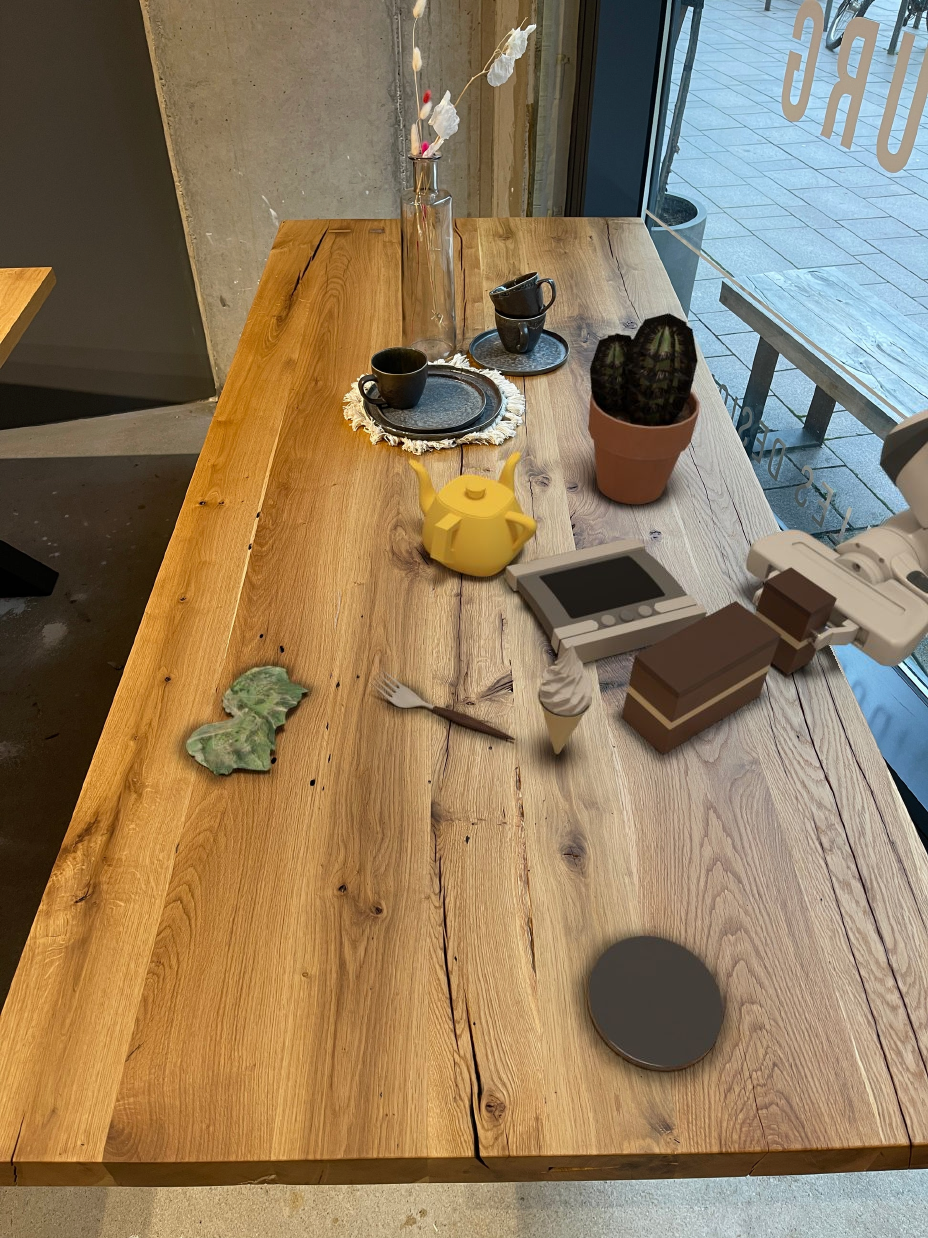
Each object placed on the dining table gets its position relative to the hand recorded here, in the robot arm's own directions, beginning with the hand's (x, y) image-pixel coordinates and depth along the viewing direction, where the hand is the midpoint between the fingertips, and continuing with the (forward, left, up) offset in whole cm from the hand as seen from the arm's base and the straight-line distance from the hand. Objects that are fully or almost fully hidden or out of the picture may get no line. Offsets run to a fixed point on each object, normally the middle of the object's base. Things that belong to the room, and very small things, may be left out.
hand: (785, 621), depth 96 cm
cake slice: (0, -1, -5) cm, 5 cm away
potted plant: (+27, -22, -6) cm, 35 cm away
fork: (+26, +26, -6) cm, 37 cm away
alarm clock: (+20, +2, -6) cm, 21 cm away
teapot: (+38, +1, -6) cm, 38 cm away
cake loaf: (+5, +11, -6) cm, 14 cm away
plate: (-4, +42, -6) cm, 43 cm away
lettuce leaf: (+42, +37, -6) cm, 56 cm away
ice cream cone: (+14, +24, -6) cm, 29 cm away
